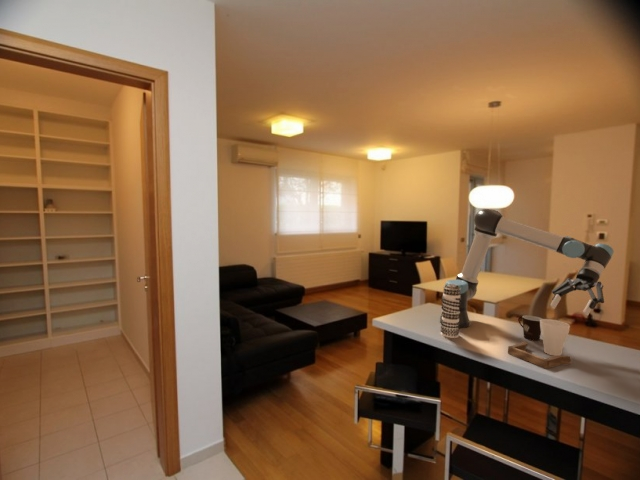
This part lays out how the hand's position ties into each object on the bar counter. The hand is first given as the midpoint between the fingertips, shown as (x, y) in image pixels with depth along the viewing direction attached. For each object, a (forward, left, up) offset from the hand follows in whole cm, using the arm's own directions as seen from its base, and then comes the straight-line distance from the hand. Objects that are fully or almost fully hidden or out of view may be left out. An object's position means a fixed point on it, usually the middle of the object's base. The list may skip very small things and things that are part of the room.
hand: (567, 310), depth 141 cm
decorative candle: (-35, -32, -18) cm, 51 cm away
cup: (-1, -8, -18) cm, 20 cm away
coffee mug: (-17, +3, -18) cm, 25 cm away
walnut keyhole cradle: (-1, -20, -18) cm, 27 cm away
